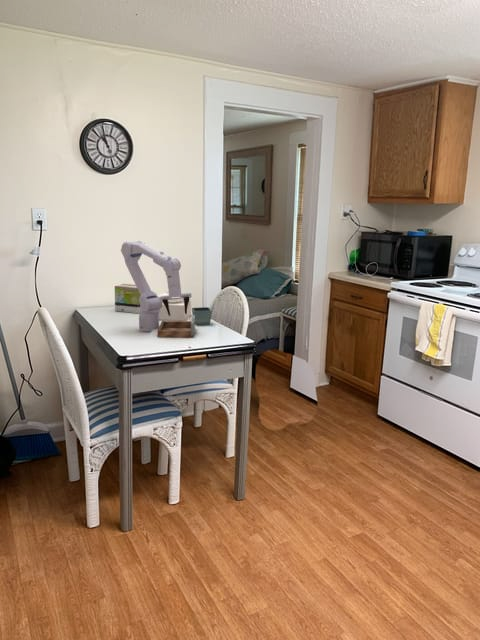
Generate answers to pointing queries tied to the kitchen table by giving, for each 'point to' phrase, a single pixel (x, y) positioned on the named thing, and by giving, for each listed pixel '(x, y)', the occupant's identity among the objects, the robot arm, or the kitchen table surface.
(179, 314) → the white lidded container
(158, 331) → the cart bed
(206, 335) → the kitchen table surface
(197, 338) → the kitchen table surface
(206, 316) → the flower pot
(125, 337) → the kitchen table surface
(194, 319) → the panel
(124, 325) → the kitchen table surface
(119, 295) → the tea box
